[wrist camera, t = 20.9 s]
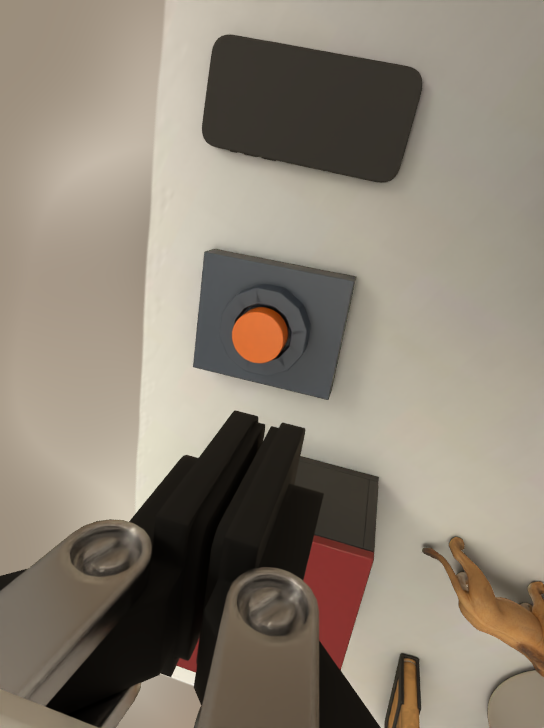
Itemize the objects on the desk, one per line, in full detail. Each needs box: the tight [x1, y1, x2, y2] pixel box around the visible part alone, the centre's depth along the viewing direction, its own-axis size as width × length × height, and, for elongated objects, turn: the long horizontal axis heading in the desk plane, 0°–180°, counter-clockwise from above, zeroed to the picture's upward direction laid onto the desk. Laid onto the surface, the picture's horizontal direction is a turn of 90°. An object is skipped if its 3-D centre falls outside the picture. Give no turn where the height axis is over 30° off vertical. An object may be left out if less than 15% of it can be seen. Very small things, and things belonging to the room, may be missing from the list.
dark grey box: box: [294, 456, 379, 553], centre depth 43 cm, size 17×14×10 cm
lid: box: [176, 535, 374, 728], centre depth 35 cm, size 17×14×6 cm
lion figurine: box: [422, 537, 544, 677], centre depth 39 cm, size 15×5×9 cm, turn 73°
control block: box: [193, 249, 356, 400], centre depth 39 cm, size 12×10×4 cm
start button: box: [232, 307, 288, 363], centre depth 36 cm, size 4×4×2 cm
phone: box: [202, 35, 422, 182], centre depth 34 cm, size 7×1×15 cm
